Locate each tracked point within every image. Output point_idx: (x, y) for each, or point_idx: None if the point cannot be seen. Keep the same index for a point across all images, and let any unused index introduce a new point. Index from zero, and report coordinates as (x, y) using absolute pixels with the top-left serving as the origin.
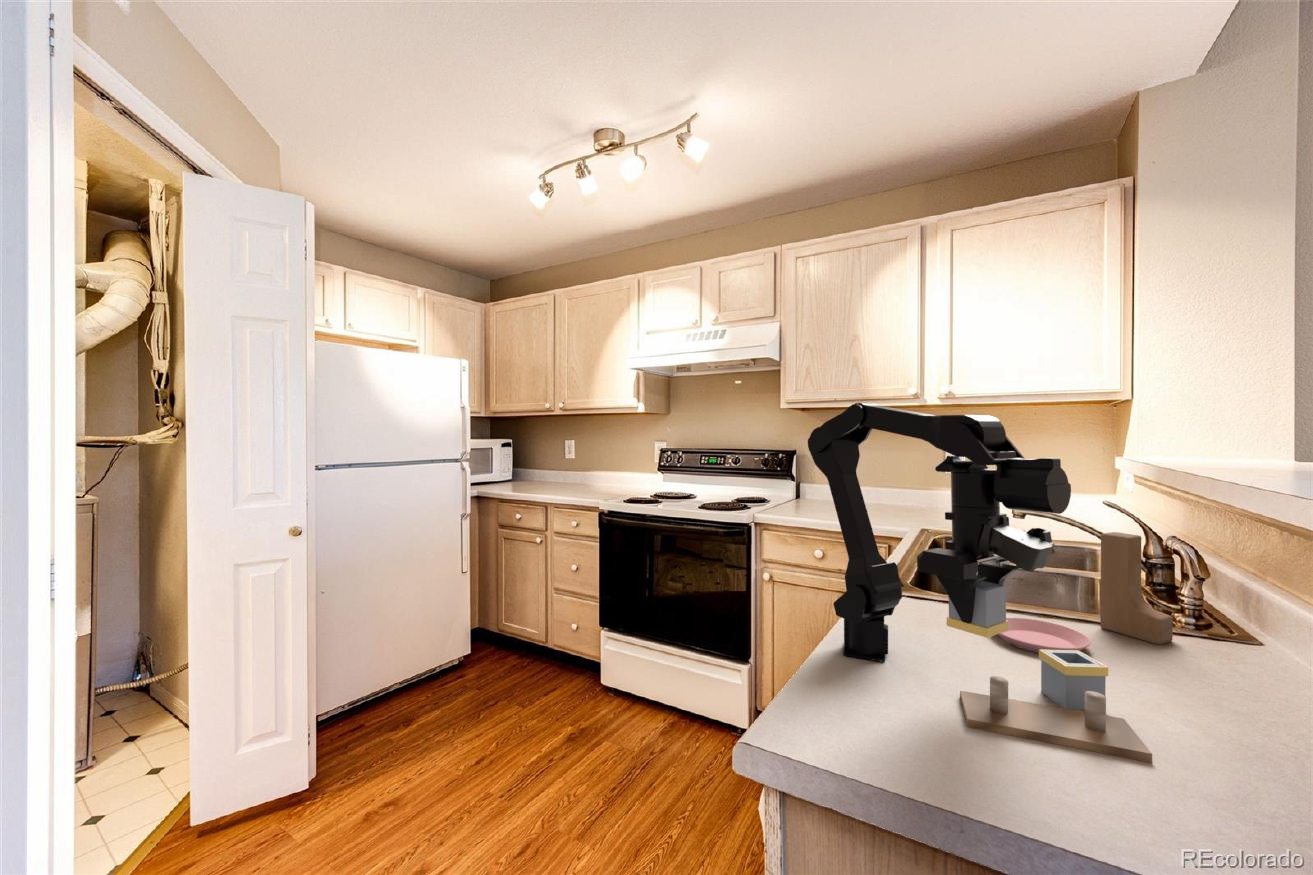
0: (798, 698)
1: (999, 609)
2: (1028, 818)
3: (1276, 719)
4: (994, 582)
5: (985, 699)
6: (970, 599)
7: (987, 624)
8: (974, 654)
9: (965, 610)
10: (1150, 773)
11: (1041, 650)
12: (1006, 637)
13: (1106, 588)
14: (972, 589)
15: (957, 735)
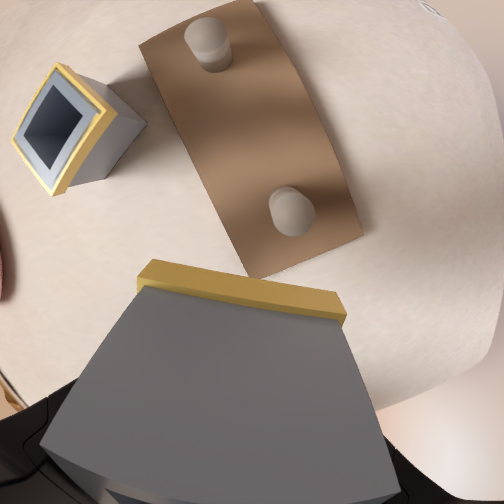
0: (403, 394)
1: (192, 347)
2: (487, 131)
3: (24, 7)
4: (55, 471)
5: (254, 235)
6: (402, 458)
7: (332, 327)
8: (63, 305)
9: None
10: (287, 3)
11: (52, 190)
12: (1, 282)
13: None
14: (424, 502)
15: (393, 234)
